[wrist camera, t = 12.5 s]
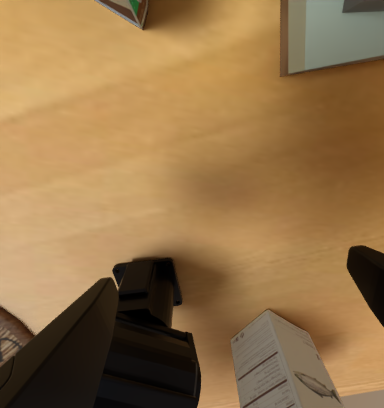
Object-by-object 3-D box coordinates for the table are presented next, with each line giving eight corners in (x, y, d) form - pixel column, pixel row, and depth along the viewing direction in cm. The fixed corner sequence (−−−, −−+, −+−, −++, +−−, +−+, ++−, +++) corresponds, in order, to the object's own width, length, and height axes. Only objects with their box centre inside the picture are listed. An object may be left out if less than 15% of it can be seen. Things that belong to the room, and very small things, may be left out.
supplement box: (309, 330, 30) (383, 478, 18) (268, 359, 32) (310, 505, 21) (267, 306, 28) (321, 453, 16) (227, 339, 30) (249, 486, 19)
